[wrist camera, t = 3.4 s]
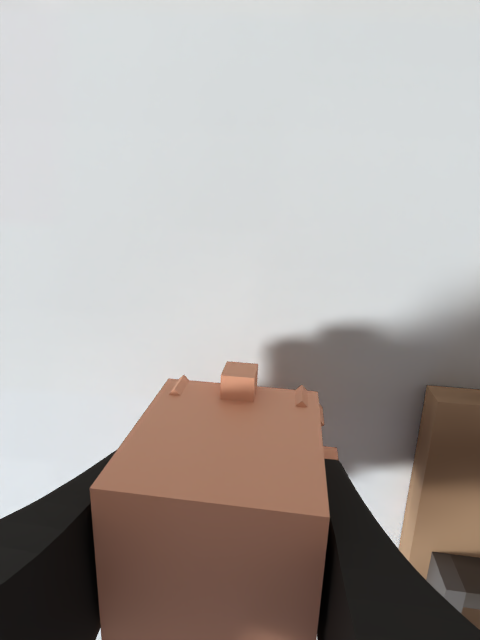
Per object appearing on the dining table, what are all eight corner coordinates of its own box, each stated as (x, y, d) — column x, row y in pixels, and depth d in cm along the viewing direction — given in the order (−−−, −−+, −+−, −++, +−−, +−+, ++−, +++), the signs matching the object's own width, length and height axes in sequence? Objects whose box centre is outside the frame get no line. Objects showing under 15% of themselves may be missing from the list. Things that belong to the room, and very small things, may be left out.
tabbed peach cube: (326, 539, 13) (341, 727, 9) (150, 517, 14) (75, 679, 9) (345, 371, 12) (376, 487, 7) (145, 354, 13) (50, 451, 8)
